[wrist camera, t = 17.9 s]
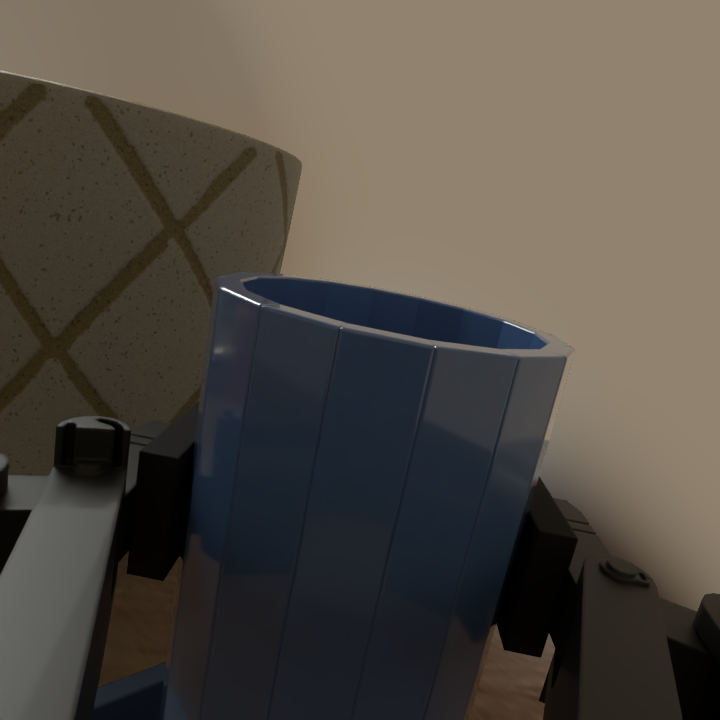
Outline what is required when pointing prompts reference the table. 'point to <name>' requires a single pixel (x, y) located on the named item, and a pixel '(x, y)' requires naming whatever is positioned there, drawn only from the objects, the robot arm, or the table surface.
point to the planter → (118, 255)
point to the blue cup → (353, 501)
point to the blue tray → (131, 696)
